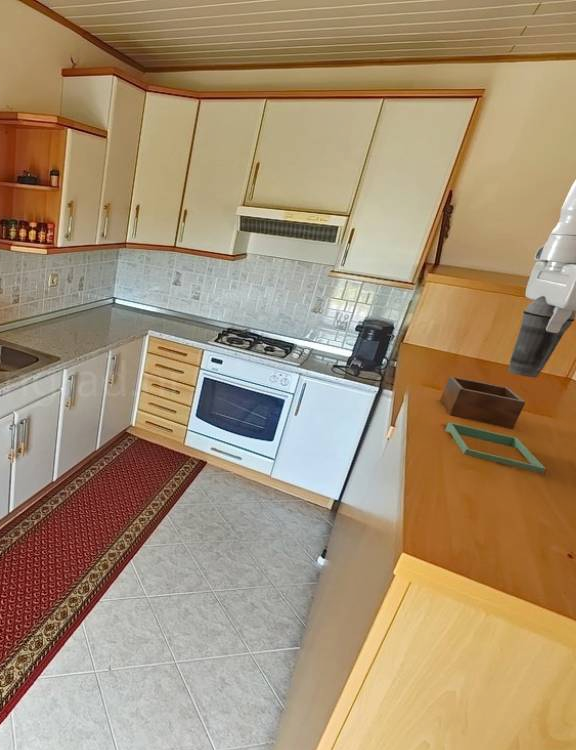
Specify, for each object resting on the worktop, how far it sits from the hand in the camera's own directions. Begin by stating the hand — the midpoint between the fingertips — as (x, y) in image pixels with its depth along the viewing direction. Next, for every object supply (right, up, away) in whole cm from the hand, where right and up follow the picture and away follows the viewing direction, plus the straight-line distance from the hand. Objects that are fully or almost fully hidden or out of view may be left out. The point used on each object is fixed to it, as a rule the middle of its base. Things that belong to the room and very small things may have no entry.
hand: (542, 328), depth 93 cm
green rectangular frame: (-4, -25, +7) cm, 26 cm away
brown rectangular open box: (+13, -18, +31) cm, 38 cm away
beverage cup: (-1, -9, +3) cm, 9 cm away
